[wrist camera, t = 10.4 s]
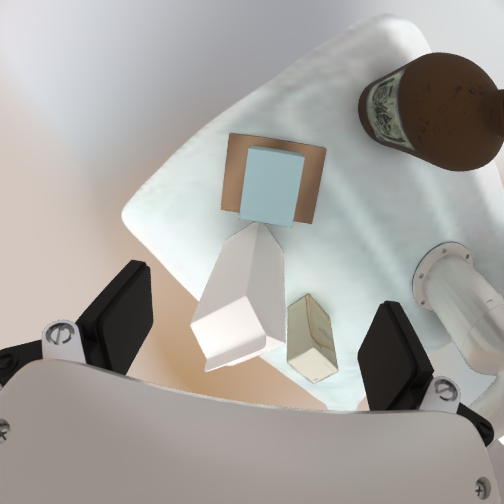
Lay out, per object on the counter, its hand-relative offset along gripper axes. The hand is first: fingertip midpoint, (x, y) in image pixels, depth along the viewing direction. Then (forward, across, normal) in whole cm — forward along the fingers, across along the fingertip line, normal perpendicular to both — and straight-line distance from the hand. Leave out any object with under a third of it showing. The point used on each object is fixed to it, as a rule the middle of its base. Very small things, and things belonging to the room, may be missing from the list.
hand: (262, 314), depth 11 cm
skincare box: (+28, -9, +20) cm, 36 cm away
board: (+28, 0, 0) cm, 28 cm away
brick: (+27, 0, 0) cm, 27 cm away
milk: (+28, +1, +10) cm, 30 cm away
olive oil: (+28, -14, -12) cm, 34 cm away
